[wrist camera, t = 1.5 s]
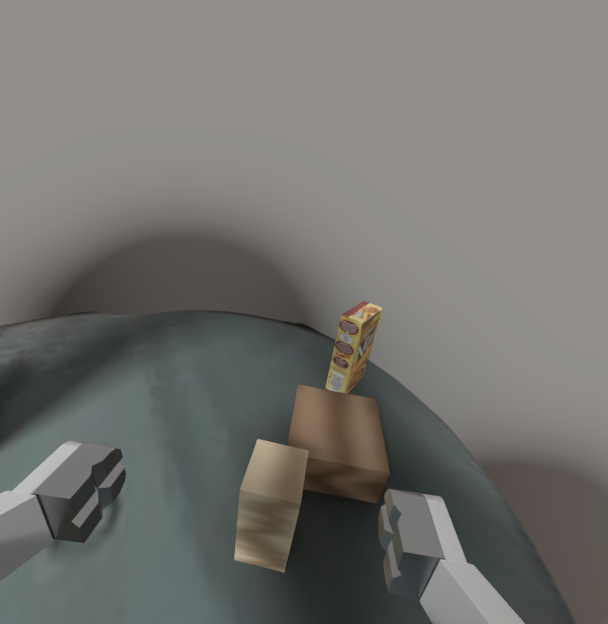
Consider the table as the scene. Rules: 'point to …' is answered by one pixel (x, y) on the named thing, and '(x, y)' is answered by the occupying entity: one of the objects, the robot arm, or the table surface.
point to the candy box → (352, 347)
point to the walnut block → (340, 443)
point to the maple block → (270, 504)
